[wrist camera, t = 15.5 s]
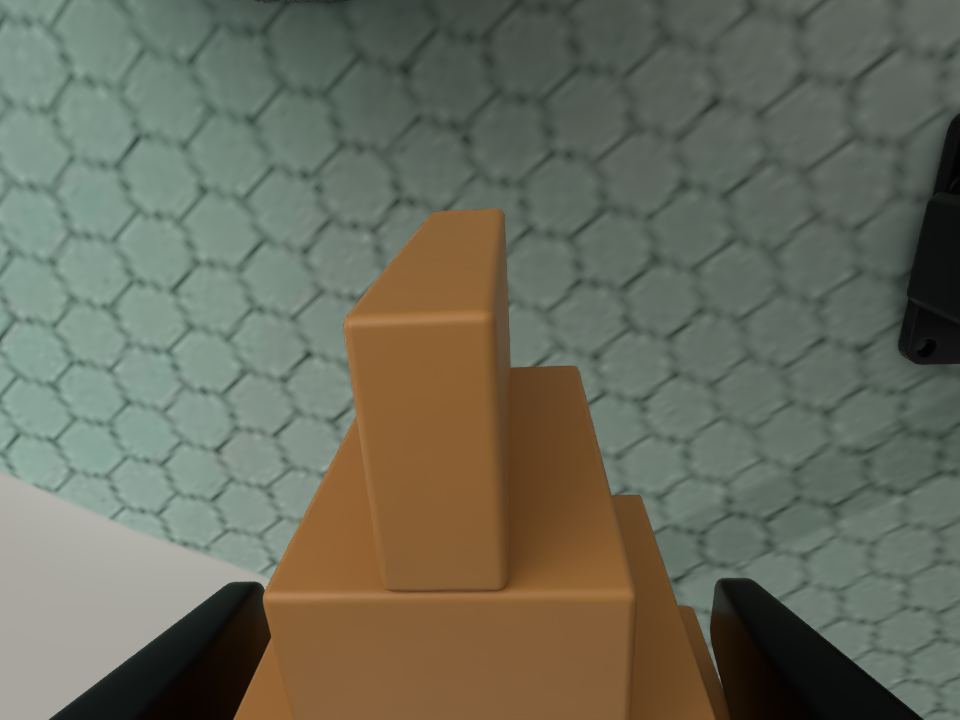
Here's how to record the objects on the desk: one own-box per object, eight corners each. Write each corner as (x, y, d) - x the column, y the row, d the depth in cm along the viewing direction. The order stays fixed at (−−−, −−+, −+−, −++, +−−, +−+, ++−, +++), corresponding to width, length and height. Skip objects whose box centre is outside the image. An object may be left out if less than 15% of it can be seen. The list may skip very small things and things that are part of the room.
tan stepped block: (711, 696, 10) (832, 1053, 6) (293, 695, 10) (169, 1023, 7) (774, 193, 7) (1092, 289, 3) (179, 223, 7) (-168, 338, 4)
